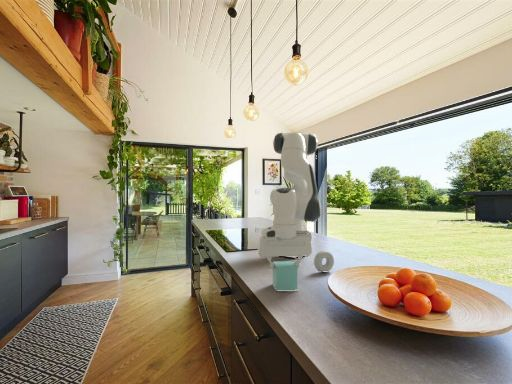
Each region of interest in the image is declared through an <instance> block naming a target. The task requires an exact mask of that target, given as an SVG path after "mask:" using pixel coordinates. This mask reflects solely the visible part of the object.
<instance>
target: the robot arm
mask: <svg viewBox="0 0 512 384" xmlns="http://www.w3.org/2000/svg"><path fill="white" fill-rule="evenodd" d="M272 141H273V142H272V147H273V150H274V151H275V153H276V154H279V155H280V164H281V165H280V166H281V167H282V169H283V177H284V179H285V181H287V182H288V183H290V184H293V185H294V186H293V187H277V188H273V189H272V190H271V192H270V194H269V200H270V202H271V204H272V214H273V216H274V217H273V221H272V222H273V223H272V226H268V227H265V228H263V229H261V236H260V237H259V239H258V240H259V241H258V245H257V254H258V255H259V257H261V258H266V259H267V261H268V262H269V267H270V269H273V268H275V264H274V263H273V261H272V260H273V259H272V258H274V257H279V256H297V257H298V258H297V260H296V261H294V262H293V263H294V264H295V265H296V266H297V269H298V268H299V269H300V263H301V262H302V261H303V258H302V256H305V257H307V256H311V255H312V254H313V253H312V252H313V250H312V248H313V247H312V242H311V241H312V237H313V236H312V235H313V234H312V233H311V232H310V231H308V230H303V221H305V222H311V223H314V222H315V221H317V220H318V219H320V218H321V215H322V204H321V201H320V198H319V191H318V187H317V180H316V175H315V171H314V166H313V165H312V163H311V162H309V161H308V160H307V157H306V155H307V156H310V155H313V154H314V153H316V151H317V149H318V145H319V143H318V142H319V141H318V138H317V135H316V134H314V133H310V132H309V133H306V132H301V131H300V132H297V131H296V132H278V133H277V134H275V135H274V139H273V140H272Z"/></svg>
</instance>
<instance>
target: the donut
mask: <svg viewBox="0 0 512 384" xmlns="http://www.w3.org/2000/svg"><path fill="white" fill-rule="evenodd" d="M323 259H325V261H326V262H325V264H323V263H322V262H323ZM334 263H335V259H334V256H333V255H332V253H331V252H330V251H328V250H323V249H322V250H320V251H319V252H317V253H316V254H315V256H314V259H313V264H314V267H315V269H316V270H317V271H318V272H319V271H321V272H320V273H322V272H323V271H328V272H330V271H331V270H332V269H333V266H334ZM329 270H330V271H329Z"/></svg>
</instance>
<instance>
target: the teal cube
mask: <svg viewBox="0 0 512 384" xmlns="http://www.w3.org/2000/svg"><path fill="white" fill-rule="evenodd" d="M272 263H274V264H275V268H272V285H273V284H274V286H275V288H276V290H295V289H297V290H298V268H297V266H296V265H295V264H294V262H293V261H292V260H286V261H284V260H281V261H279V260H278V261H272ZM274 286H273V287H274ZM275 288H274V289H275ZM276 290H275V291H276Z"/></svg>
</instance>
